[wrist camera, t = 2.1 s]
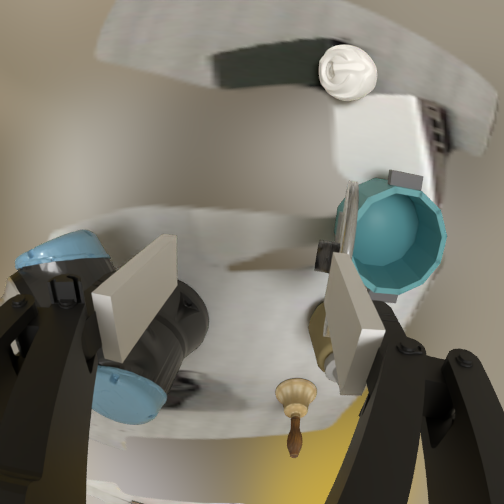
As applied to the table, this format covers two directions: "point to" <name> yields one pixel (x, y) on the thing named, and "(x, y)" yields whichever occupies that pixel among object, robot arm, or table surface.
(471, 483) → the robot arm
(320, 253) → the lid
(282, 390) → the hand bell
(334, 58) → the white swirled ball
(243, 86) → the table surface
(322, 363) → the squeeze bottle
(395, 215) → the pot
